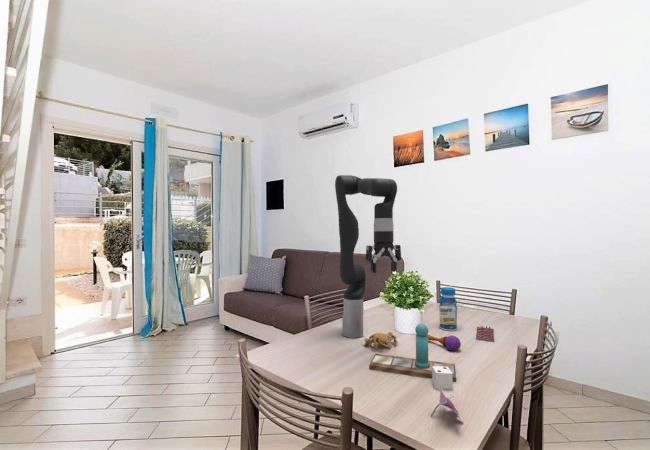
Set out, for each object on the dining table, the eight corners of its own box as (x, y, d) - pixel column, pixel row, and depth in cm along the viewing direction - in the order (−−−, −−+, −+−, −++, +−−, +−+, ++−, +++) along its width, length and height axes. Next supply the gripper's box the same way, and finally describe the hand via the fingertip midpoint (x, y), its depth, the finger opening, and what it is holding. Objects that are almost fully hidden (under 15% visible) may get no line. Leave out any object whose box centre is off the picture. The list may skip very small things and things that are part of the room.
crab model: (375, 337, 147) (375, 325, 147) (401, 343, 139) (401, 331, 139) (357, 347, 135) (357, 334, 135) (384, 354, 127) (384, 340, 127)
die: (436, 389, 100) (436, 372, 100) (432, 381, 105) (432, 365, 105) (452, 389, 99) (452, 373, 99) (447, 382, 104) (447, 366, 104)
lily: (455, 441, 77) (473, 405, 77) (411, 408, 83) (428, 374, 84) (459, 430, 87) (475, 398, 88) (419, 401, 93) (435, 371, 94)
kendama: (423, 328, 148) (463, 337, 131) (422, 342, 146) (463, 352, 130) (415, 328, 144) (455, 337, 128) (414, 342, 143) (454, 352, 127)
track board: (369, 369, 114) (369, 364, 114) (375, 357, 124) (375, 352, 124) (456, 382, 104) (456, 377, 104) (454, 368, 114) (454, 363, 114)
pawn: (414, 367, 111) (413, 325, 111) (415, 361, 116) (414, 321, 116) (429, 369, 109) (429, 326, 110) (430, 363, 114) (429, 322, 114)
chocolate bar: (493, 331, 157) (493, 327, 157) (494, 343, 140) (494, 339, 140) (477, 328, 160) (477, 324, 160) (475, 340, 143) (475, 336, 143)
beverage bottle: (460, 329, 158) (460, 288, 158) (450, 332, 153) (450, 290, 154) (446, 324, 165) (445, 286, 165) (435, 327, 160) (435, 287, 161)
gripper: (394, 230, 130) (394, 270, 130) (362, 230, 125) (362, 271, 125) (404, 230, 123) (405, 272, 123) (371, 230, 118) (371, 274, 118)
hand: (383, 272), depth 124 cm, fingers open, 8 cm apart
